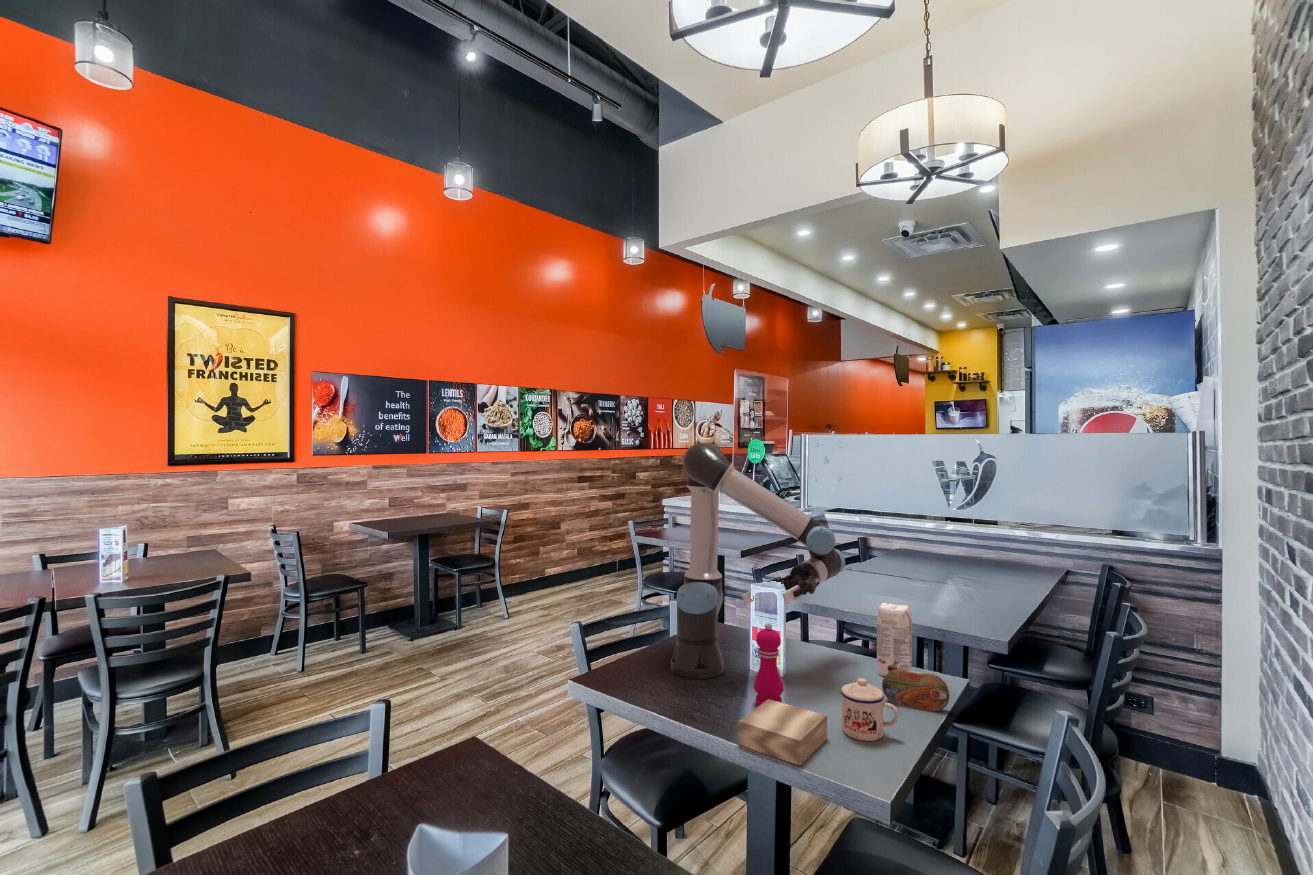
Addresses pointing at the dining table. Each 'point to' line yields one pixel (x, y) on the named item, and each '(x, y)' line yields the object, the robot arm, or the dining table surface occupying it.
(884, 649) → the juice carton
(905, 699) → the tin
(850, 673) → the dining table surface
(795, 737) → the birch block
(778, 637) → the pepper mill
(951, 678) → the dining table surface
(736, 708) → the dining table surface
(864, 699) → the teacup with lid
